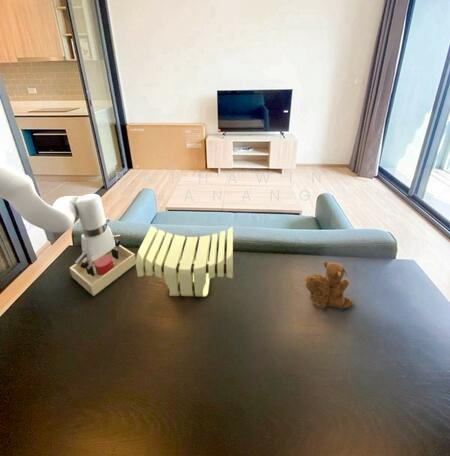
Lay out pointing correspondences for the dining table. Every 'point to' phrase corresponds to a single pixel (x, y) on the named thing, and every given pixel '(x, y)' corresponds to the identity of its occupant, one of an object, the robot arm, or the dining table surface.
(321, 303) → the stuffed squirrel
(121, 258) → the bin
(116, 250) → the robot arm
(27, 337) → the dining table surface
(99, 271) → the disc
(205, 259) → the slatted curved stool
